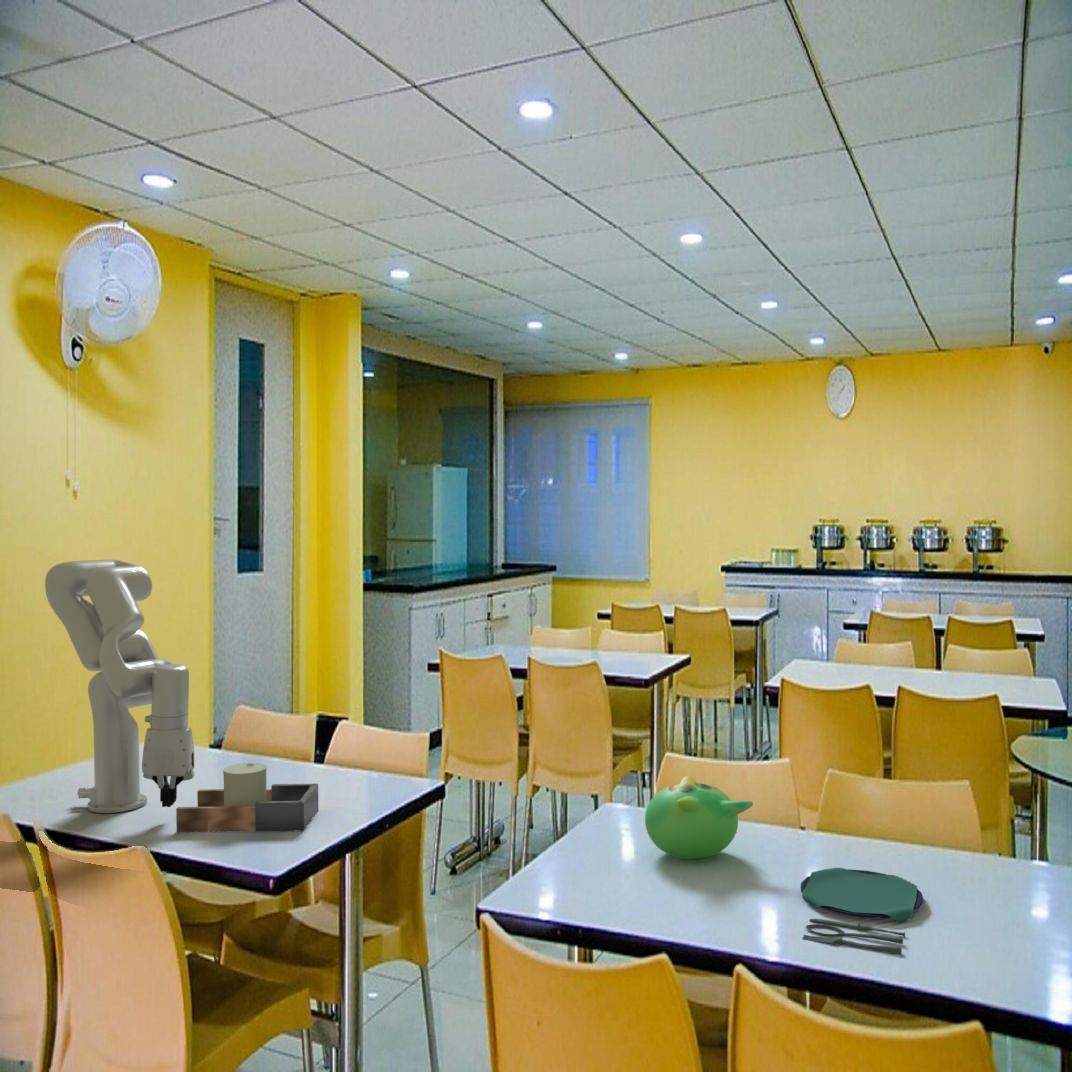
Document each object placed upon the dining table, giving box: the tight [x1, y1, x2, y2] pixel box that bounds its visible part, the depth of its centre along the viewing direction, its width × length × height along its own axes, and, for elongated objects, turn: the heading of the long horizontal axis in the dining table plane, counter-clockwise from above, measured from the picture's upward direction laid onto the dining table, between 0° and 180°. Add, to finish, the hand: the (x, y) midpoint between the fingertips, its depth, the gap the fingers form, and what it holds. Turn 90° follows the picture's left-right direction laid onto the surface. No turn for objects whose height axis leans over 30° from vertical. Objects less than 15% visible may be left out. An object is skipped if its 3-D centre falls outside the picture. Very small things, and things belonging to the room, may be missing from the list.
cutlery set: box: [800, 867, 924, 956], centre depth 159 cm, size 20×30×2 cm, turn 155°
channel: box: [175, 788, 272, 833], centre depth 209 cm, size 16×14×5 cm
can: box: [222, 762, 268, 806], centre depth 210 cm, size 9×9×12 cm
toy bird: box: [644, 775, 754, 860], centre depth 185 cm, size 18×17×15 cm
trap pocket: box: [255, 783, 320, 832], centre depth 210 cm, size 10×14×6 cm
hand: (168, 804), depth 210 cm, fingers closed
